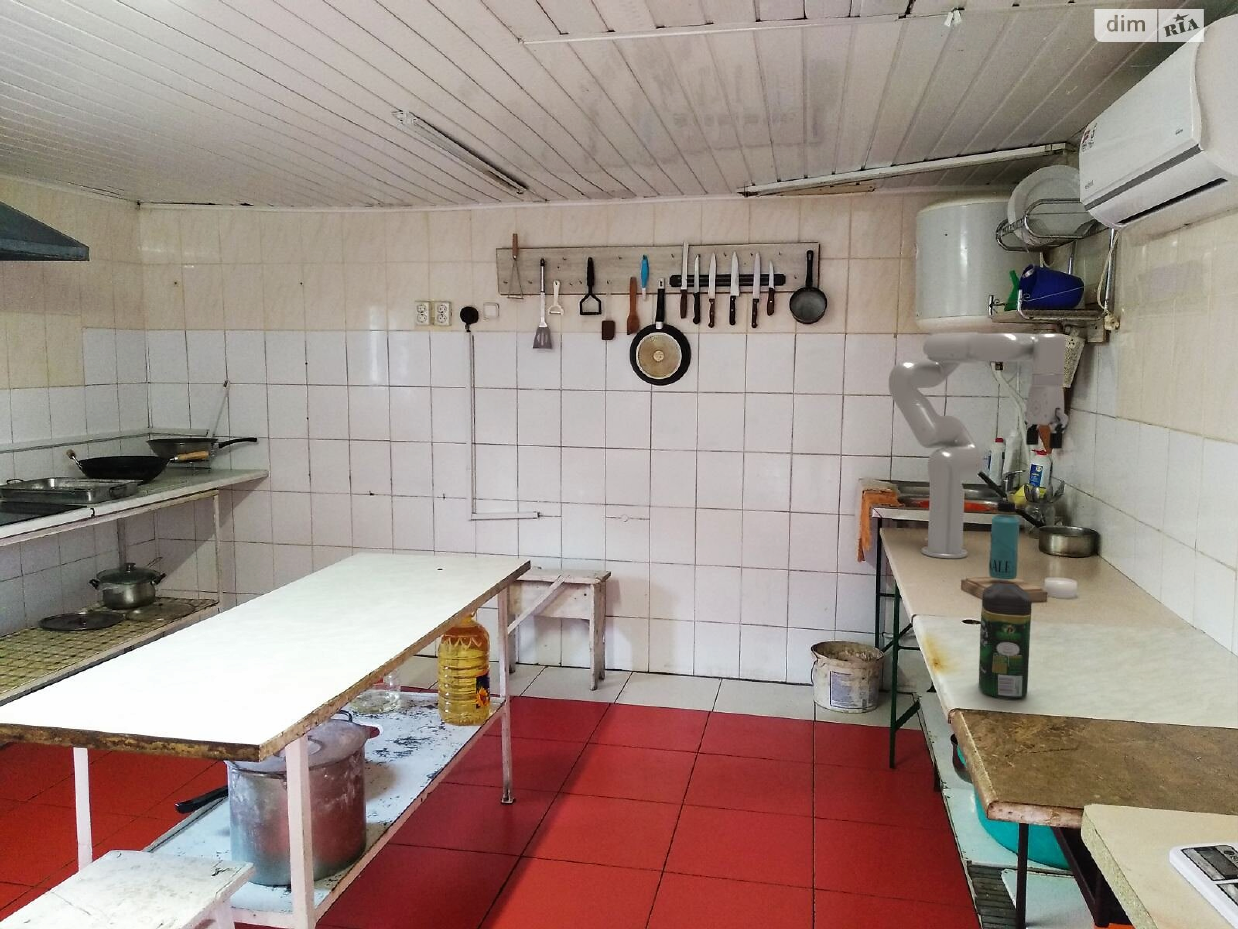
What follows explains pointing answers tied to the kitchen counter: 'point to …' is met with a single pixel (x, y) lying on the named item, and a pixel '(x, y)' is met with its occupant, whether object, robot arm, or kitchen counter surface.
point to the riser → (980, 583)
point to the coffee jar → (1005, 641)
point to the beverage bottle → (1004, 543)
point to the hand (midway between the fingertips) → (1043, 446)
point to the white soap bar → (1061, 587)
